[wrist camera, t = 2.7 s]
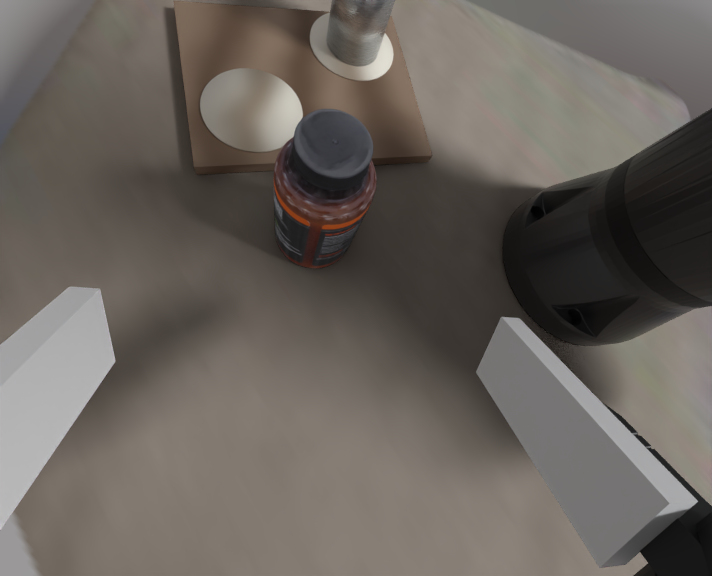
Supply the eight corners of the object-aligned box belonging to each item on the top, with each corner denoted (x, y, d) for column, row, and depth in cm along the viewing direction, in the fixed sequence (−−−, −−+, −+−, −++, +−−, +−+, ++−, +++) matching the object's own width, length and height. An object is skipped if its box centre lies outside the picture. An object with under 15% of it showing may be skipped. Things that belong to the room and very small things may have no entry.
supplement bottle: (362, 231, 28) (415, 141, 17) (320, 285, 26) (351, 221, 15) (304, 188, 28) (322, 70, 17) (258, 239, 26) (245, 142, 15)
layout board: (388, 26, 35) (392, 14, 34) (427, 162, 31) (433, 154, 30) (176, 12, 29) (172, -2, 28) (196, 174, 26) (193, 165, 25)
